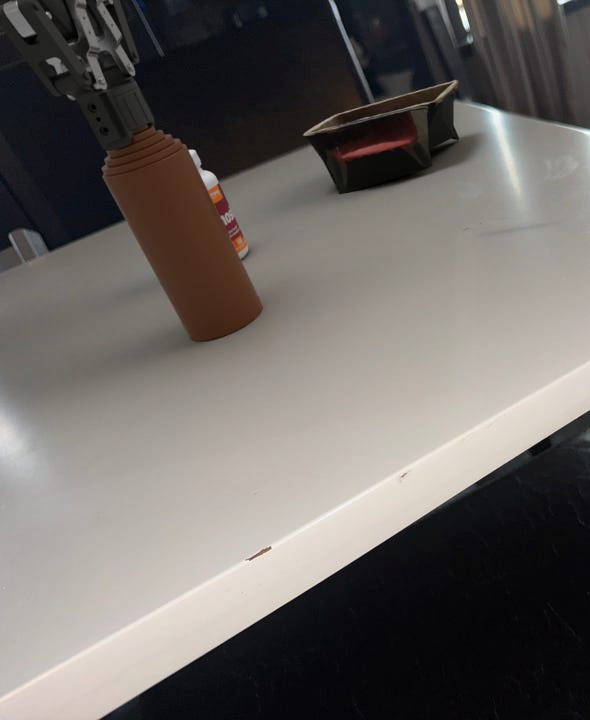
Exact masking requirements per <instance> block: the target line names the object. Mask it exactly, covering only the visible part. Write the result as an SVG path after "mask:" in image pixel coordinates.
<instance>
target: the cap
mask: <svg viewBox="0 0 590 720" xmlns="http://www.w3.org/2000/svg"><path fill="white" fill-rule="evenodd" d="M107 90H111V92H112V94H113V96H114V98H115V100H116V102H117V104H118V106H119V108H120V110H121V112H122V114H123V116H124V118H125V120H126V122H127V124H128V126H129V128H130V130H131V131H132V130H135V129H137V128H140V127H142V126H144V125H146V124H148V123H150V122H152V121H153V120H154V121H155V116H154V114H153V112H152V110H151V107H150V106H149V104H148V102H147V100H146V98H145V95H144V94H143V92H142V90H141V88H140V87H139V85H138V83H137V81H136V80H135V81H133V82H129V83H125V84H122V85H119V86H116V87H113V88H110V89H107ZM107 90H104V91H107Z"/></svg>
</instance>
